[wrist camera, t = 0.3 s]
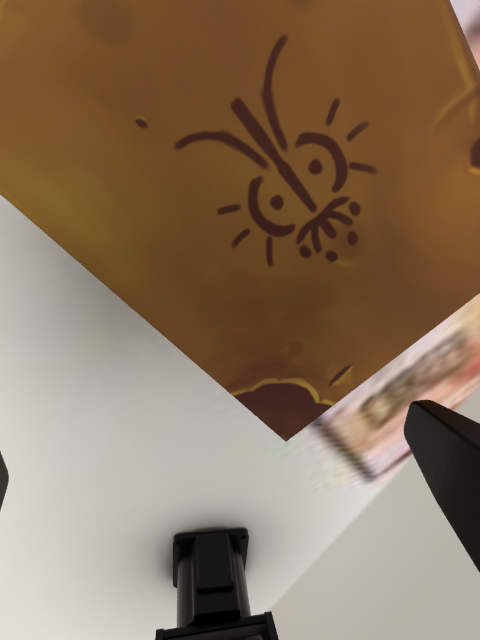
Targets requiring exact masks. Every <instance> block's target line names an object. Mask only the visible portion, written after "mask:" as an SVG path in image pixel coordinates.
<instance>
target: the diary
mask: <svg viewBox="0 0 480 640" xmlns="http://www.w3.org/2000/svg"><path fill="white" fill-rule="evenodd" d="M0 194H1V195H2V196H3V197H4V198H6V199H7V200H8V201H9V202H10V203H11V204H13V205H14V206H15V207H16V208H17V209H18V210H19V211H21V212H22V213H23V214H24V215H25V216H26V217H28V218H29V219H30V220H31V221H32V222H33V223H34V224H36V225H37V226H38V227H39V228H40V229H41V230H42V231H44V232H45V233H46V234H47V235H48V236H49V237H51V238H52V239H53V240H54V241H55V242H56V243H57V244H59V245H60V246H61V247H62V248H63V249H64V250H66V251H67V252H68V253H69V254H70V255H71V256H72V257H74V258H75V259H76V260H77V261H78V262H79V263H81V264H82V265H83V266H84V267H85V268H86V269H87V270H89V271H90V272H91V273H92V274H93V275H94V276H95V277H97V278H98V279H99V280H100V281H101V282H102V283H104V284H105V285H106V286H107V287H108V288H109V289H110V290H112V291H113V292H114V293H115V294H116V295H117V296H119V297H120V298H121V299H122V300H123V301H124V302H125V303H127V304H128V305H129V306H130V307H131V308H132V309H133V310H135V311H136V312H137V313H138V314H139V315H140V316H142V317H143V318H144V319H145V320H146V321H147V322H148V323H150V324H151V325H152V326H153V327H154V328H155V329H157V330H158V331H159V332H160V333H161V334H162V335H163V336H165V337H166V338H167V339H168V340H169V341H170V342H172V343H173V344H174V345H175V346H176V347H177V348H178V349H180V350H181V351H182V352H183V353H184V354H185V355H186V356H188V357H189V358H190V359H191V360H192V361H193V362H195V363H196V364H197V365H198V366H199V367H200V368H201V369H203V370H204V371H205V372H206V373H207V374H208V375H210V376H211V377H212V378H213V379H214V380H215V381H216V382H218V383H219V384H220V385H221V386H222V387H223V388H225V389H226V390H227V391H228V392H229V393H230V394H231V395H233V396H234V397H235V398H236V399H237V400H238V401H239V402H241V403H242V404H243V405H244V406H245V407H246V408H248V409H249V410H250V411H251V412H252V413H253V414H254V415H256V416H257V417H258V418H259V419H260V420H261V421H263V422H264V423H265V424H266V425H267V426H268V427H269V428H271V429H272V430H273V431H274V432H275V433H276V434H278V435H279V436H280V437H281V438H282V439H283V440H284V441H288V440H289V439H290V438H292V437H293V436H294V435H295V434H297V433H298V432H299V431H301V430H302V429H303V428H305V427H306V426H307V425H308V424H310V423H311V422H312V421H314V420H315V419H316V418H318V417H319V416H320V415H322V414H323V413H324V412H325V411H327V410H328V409H329V408H331V407H332V406H333V405H335V404H336V403H337V402H338V401H340V400H341V399H342V398H344V397H345V396H346V395H348V394H349V393H350V392H351V391H353V390H354V389H355V388H357V387H358V386H359V385H361V384H362V383H363V382H364V381H366V380H367V379H368V378H370V377H371V376H372V375H374V374H375V373H376V372H377V371H379V370H380V369H381V368H383V367H384V366H385V365H387V364H388V363H389V362H391V361H392V360H393V359H394V358H396V357H397V356H398V355H400V354H401V353H402V352H404V351H405V350H406V349H407V348H409V347H410V346H411V345H413V344H414V343H415V342H417V341H418V340H419V339H420V338H422V337H423V336H424V335H426V334H427V333H428V332H430V331H431V330H432V329H433V328H435V327H436V326H437V325H439V324H440V323H441V322H443V321H444V320H445V319H446V318H448V317H449V316H450V315H452V314H453V313H454V312H456V311H457V310H458V309H460V308H461V307H462V306H463V305H465V304H466V303H467V302H469V301H470V300H471V299H473V298H474V297H475V296H476V295H478V294H479V293H480V71H479V68H478V66H477V64H476V61H475V59H474V57H473V54H472V52H471V50H470V47H469V45H468V43H467V40H466V38H465V35H464V33H463V31H462V28H461V26H460V24H459V21H458V19H457V17H456V14H455V12H454V10H453V7H452V5H451V2H450V0H0Z"/></svg>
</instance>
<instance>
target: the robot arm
mask: <svg viewBox="0 0 480 640" xmlns="http://www.w3.org/2000/svg"><path fill="white" fill-rule="evenodd" d="M404 436H405V439H406V441H407V443H408V445H409V447H410V449H411V451H412V453H413V455H414V457H415V459H416V461H417V463H418V465H419V467H420V469H421V472H422V473H423V476H424V477H425V480H426V482H427V484H428V486H429V488H430V490H431V492H432V494H433V496H434V497H435V499H436V501H437V503H438V505H439V506H440V508H441V510H442V511H443V513H444V515H445V516H446V518H447V520H448V521H449V523H450V525H451V526H452V528H453V530H454V531H455V533H456V534H457V536H458V538H459V539H460V541H461V543H462V544H463V546H464V548H465V549H466V551H467V552H468V554H469V556H470V557H471V559H472V561H473V562H474V564H475V566H476V567H477V569H478V571H479V572H480V424H479V423H477V422H475V421H473V420H471V419H469V418H467V417H465V416H463V415H461V414H459V413H456V412H454V411H452V410H450V409H448V408H446V407H444V406H442V405H440V404H438V403H436V402H434V401H431V400H419V401H414V402H412V403H411V404H410V406H409V410H408V413H407V417H406V421H405V425H404ZM8 481H9V474H8V470H7V468H6V465H5V462H4V460H3V457H2V454H1V452H0V510H1V506H2V503H3V500H4V496H5V493H6V489H7V486H8ZM248 539H249V535H248V531H247V530H245V529H240V530H228V531H216V532H205V533H193V534H181V535H176V536H175V537H174V538H173V586H174V587H176V588H177V628H173V629H167V630H164V628H163V629H157V630H156V638H155V640H279V639H278V635H277V632H276V628H275V624H274V620H273V616H272V612H271V611H269V612H264V614H260V615H254V616H251V613H250V606H249V599H248V593H247V586H246V579H245V564H246V556H247V547H248Z"/></svg>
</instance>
